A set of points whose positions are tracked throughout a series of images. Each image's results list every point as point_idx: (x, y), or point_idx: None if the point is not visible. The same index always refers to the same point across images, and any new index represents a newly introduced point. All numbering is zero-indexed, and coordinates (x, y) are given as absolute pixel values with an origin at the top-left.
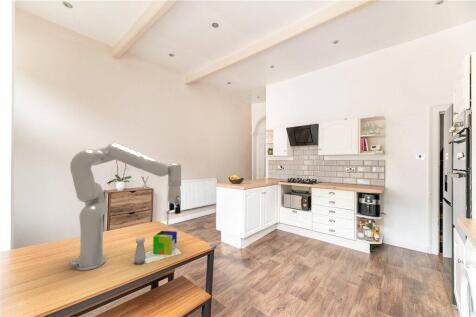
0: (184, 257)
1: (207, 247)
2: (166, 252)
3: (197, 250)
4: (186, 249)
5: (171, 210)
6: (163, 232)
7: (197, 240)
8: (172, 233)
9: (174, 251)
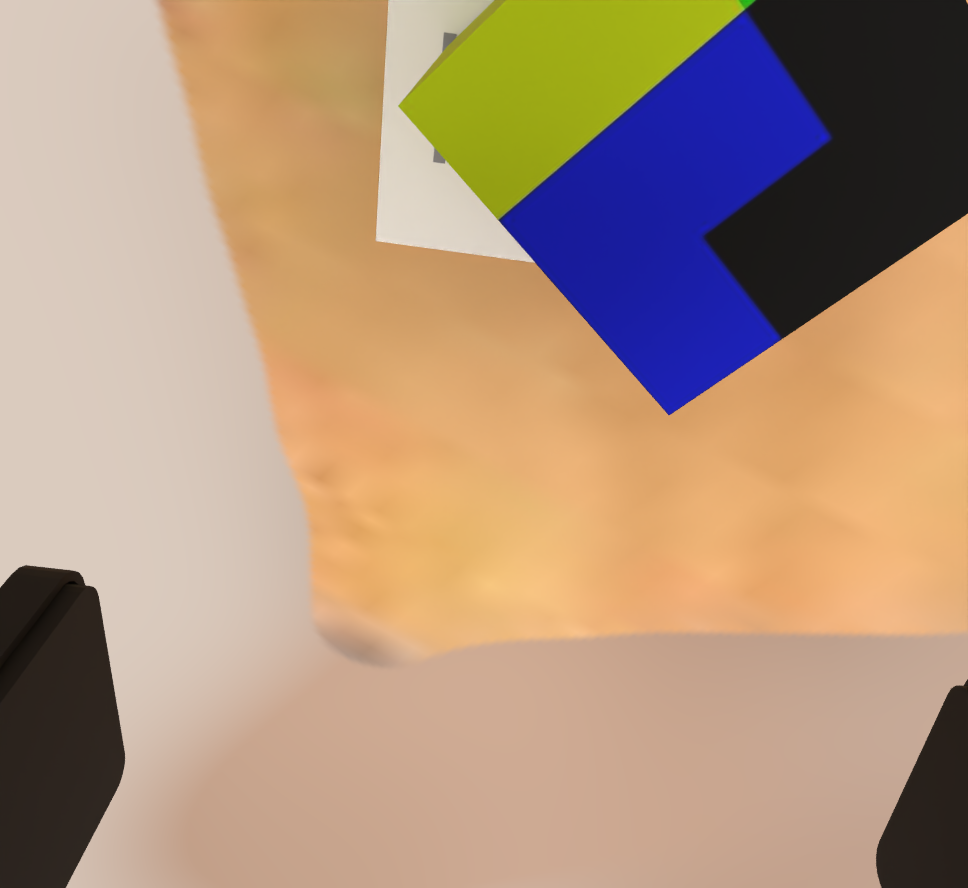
0: (226, 205)
1: (331, 588)
2: (488, 7)
3: (329, 455)
4: (465, 362)
5: (935, 749)
6: (876, 135)
7: (637, 622)
8: (620, 281)
9: None
